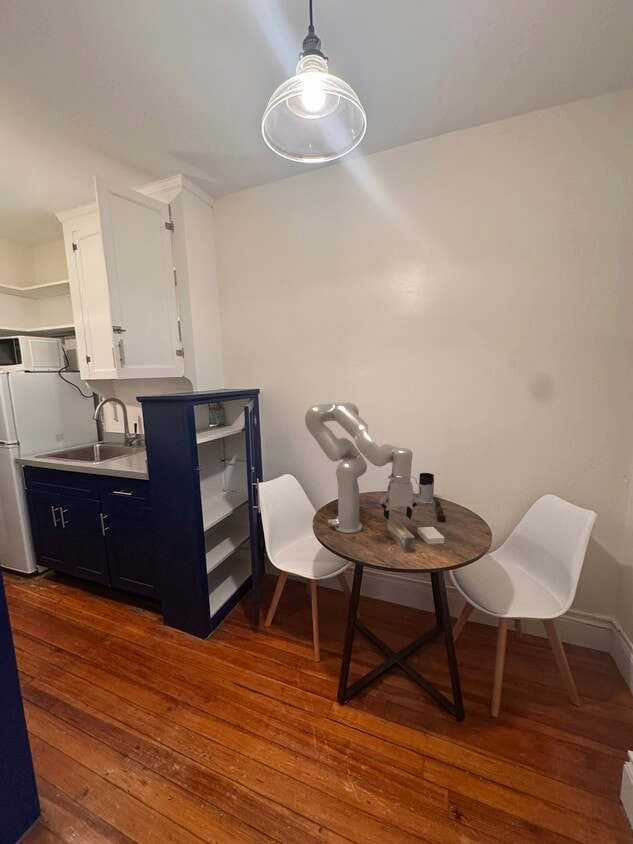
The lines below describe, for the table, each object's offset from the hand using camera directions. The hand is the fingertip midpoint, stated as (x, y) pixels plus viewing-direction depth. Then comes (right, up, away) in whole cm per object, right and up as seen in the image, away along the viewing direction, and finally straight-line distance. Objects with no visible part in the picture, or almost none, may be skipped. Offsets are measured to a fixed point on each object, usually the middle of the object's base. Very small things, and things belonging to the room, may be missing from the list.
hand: (397, 517), depth 134 cm
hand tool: (+27, -7, +27) cm, 39 cm away
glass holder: (+24, -4, +45) cm, 52 cm away
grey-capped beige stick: (+1, -10, +1) cm, 10 cm away
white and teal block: (+14, -8, +8) cm, 18 cm away
